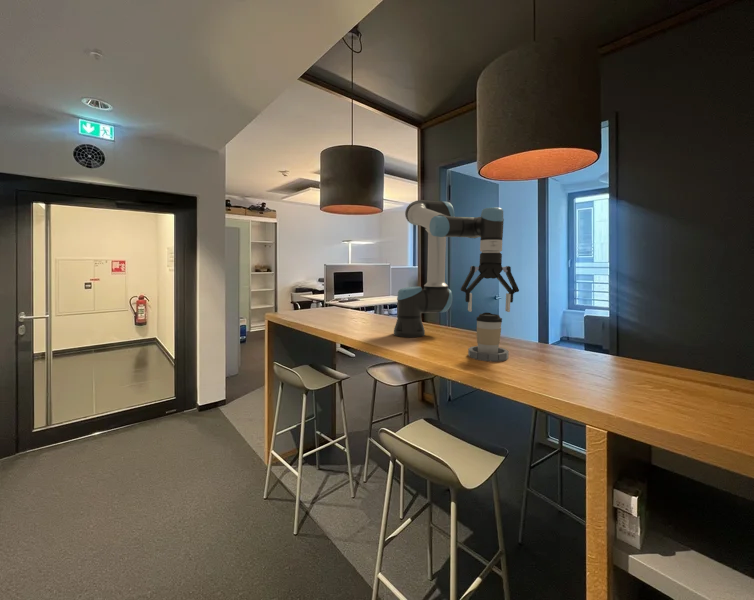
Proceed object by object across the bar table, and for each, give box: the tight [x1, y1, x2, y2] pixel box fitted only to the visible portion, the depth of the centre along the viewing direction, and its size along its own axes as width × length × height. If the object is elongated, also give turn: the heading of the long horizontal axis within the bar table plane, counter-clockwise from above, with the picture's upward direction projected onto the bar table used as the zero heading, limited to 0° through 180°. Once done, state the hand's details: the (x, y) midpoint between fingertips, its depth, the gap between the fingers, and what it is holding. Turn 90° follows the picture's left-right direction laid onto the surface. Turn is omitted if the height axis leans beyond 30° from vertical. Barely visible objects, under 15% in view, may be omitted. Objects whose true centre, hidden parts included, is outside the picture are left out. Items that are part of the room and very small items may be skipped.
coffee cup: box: [475, 312, 503, 354], centre depth 127 cm, size 9×9×15 cm
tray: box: [467, 345, 509, 362], centre depth 128 cm, size 14×14×2 cm
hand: (488, 311), depth 127 cm, fingers open, 13 cm apart
